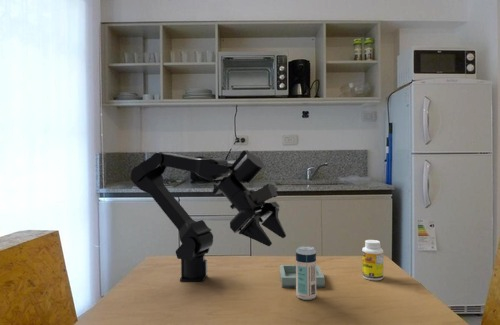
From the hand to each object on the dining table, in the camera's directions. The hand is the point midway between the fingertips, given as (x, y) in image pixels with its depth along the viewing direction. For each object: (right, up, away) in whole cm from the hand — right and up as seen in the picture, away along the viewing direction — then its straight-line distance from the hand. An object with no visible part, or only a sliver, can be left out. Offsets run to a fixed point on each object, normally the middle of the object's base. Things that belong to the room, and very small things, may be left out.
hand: (278, 241), depth 92 cm
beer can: (+7, -13, -3) cm, 15 cm away
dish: (+7, -13, +9) cm, 17 cm away
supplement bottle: (+27, -13, +10) cm, 32 cm away
